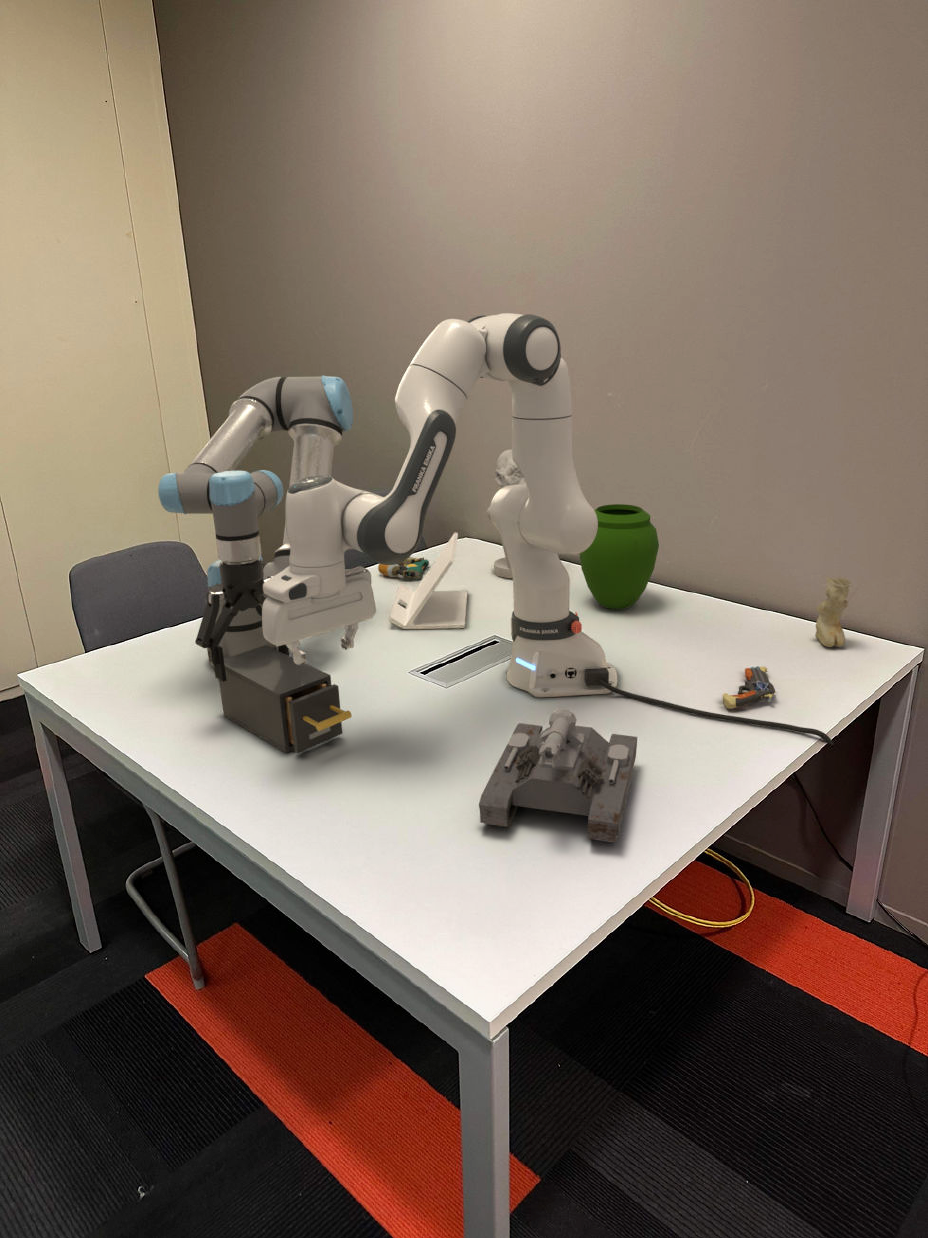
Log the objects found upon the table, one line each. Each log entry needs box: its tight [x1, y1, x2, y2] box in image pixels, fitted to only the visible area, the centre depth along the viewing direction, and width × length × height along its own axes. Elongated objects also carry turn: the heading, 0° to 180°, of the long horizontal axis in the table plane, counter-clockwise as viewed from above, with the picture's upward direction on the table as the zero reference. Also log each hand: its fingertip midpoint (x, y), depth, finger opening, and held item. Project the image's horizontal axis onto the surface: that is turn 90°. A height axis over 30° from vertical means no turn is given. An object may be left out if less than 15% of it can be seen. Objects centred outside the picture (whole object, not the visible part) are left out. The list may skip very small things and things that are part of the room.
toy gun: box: [722, 665, 778, 710], centre depth 166 cm, size 3×19×10 cm
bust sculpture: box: [485, 448, 526, 579], centre depth 231 cm, size 16×24×35 cm
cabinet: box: [218, 645, 332, 754], centre depth 157 cm, size 21×11×11 cm, turn 45°
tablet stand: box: [388, 531, 468, 630], centre depth 211 cm, size 18×25×17 cm
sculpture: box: [814, 576, 852, 648], centre depth 185 cm, size 6×7×15 cm
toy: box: [478, 707, 638, 844], centre depth 131 cm, size 25×20×15 cm
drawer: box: [284, 683, 352, 754], centre depth 153 cm, size 25×10×10 cm, turn 45°
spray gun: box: [377, 556, 430, 579], centre depth 244 cm, size 4×17×15 cm
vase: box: [579, 503, 660, 610], centre depth 210 cm, size 20×20×24 cm
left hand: (253, 668), depth 160 cm, fingers open, 13 cm apart
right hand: (324, 655), depth 144 cm, fingers open, 8 cm apart
